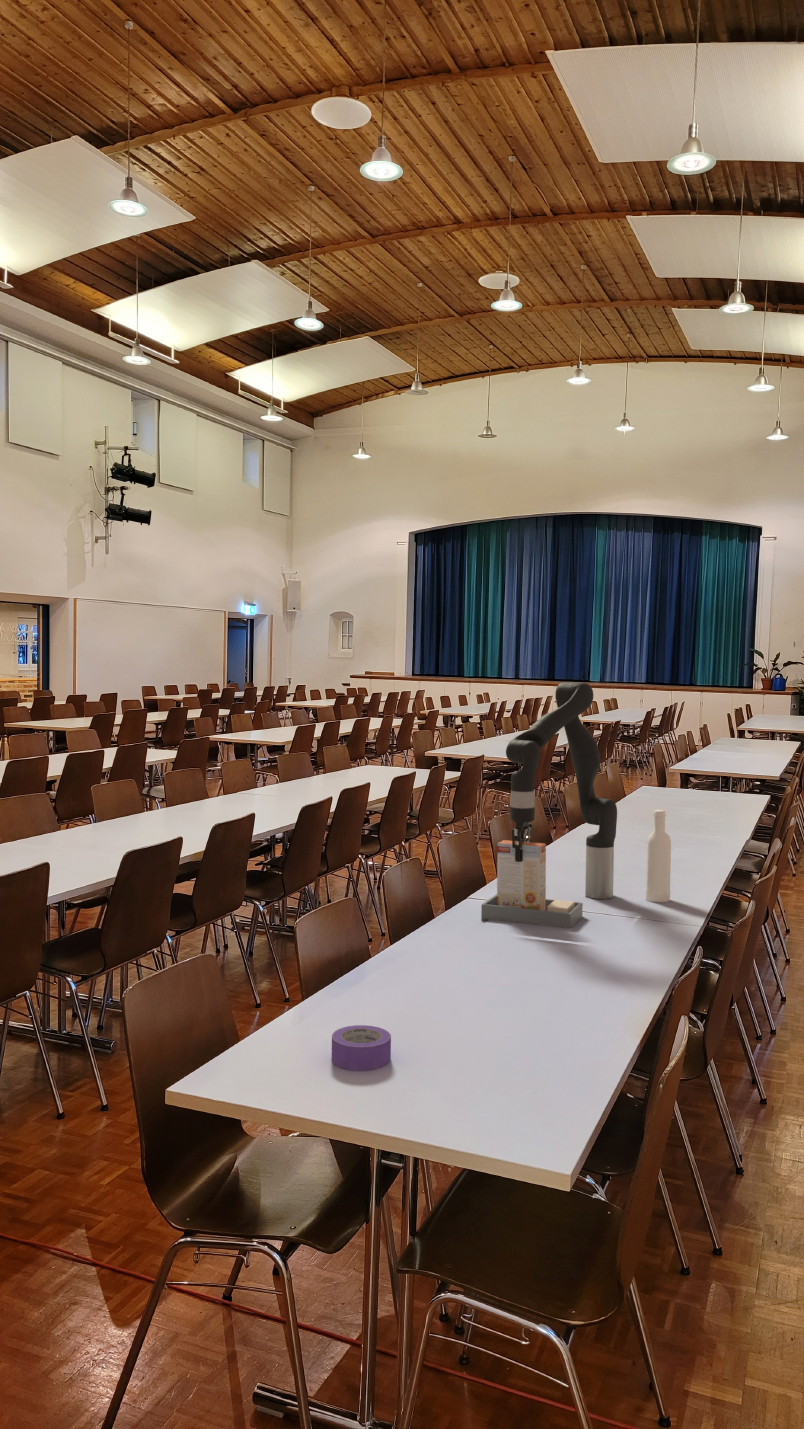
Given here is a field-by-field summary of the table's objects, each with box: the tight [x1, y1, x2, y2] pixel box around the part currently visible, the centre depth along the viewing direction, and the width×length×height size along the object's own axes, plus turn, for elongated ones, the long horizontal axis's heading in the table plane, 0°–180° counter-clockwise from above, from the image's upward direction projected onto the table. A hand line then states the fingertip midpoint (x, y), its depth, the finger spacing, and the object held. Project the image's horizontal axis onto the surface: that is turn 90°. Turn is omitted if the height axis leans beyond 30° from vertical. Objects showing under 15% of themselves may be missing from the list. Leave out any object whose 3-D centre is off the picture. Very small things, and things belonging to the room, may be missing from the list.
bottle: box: [645, 809, 672, 904], centre depth 333 cm, size 8×8×30 cm
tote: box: [480, 893, 584, 929], centre depth 307 cm, size 15×28×5 cm, turn 67°
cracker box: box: [496, 839, 547, 910], centre depth 308 cm, size 14×6×21 cm, turn 62°
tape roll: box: [331, 1024, 392, 1072], centre depth 199 cm, size 12×12×5 cm
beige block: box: [547, 899, 575, 913], centre depth 304 cm, size 9×6×5 cm, turn 157°
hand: (521, 859), depth 308 cm, fingers closed on cracker box, 6 cm apart
